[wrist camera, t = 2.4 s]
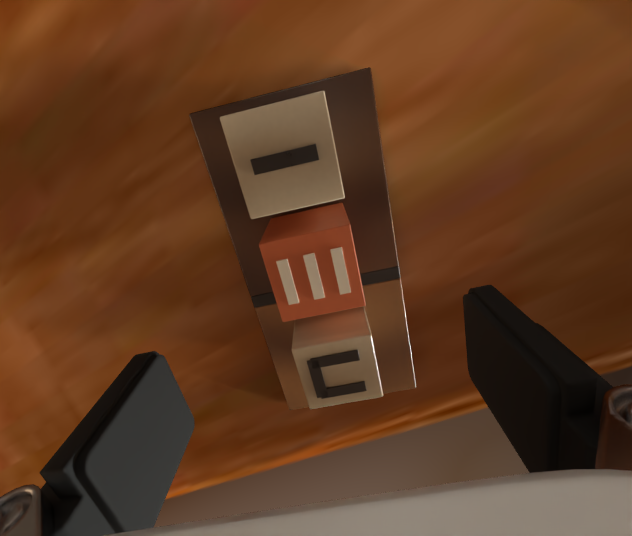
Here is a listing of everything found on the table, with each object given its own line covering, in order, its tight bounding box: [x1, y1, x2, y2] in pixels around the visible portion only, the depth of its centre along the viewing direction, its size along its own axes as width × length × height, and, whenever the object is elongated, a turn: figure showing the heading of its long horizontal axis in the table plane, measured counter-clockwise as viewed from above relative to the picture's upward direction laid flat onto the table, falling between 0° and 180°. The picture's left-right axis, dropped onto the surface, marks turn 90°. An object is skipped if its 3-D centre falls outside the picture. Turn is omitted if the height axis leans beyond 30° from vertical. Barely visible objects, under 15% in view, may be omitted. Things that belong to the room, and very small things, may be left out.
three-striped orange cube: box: [259, 203, 366, 322], centre depth 17 cm, size 4×4×4 cm
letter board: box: [189, 68, 416, 410], centre depth 20 cm, size 20×9×1 cm, turn 13°
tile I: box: [220, 91, 345, 219], centre depth 15 cm, size 4×4×4 cm
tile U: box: [292, 306, 383, 409], centre depth 19 cm, size 4×4×4 cm
